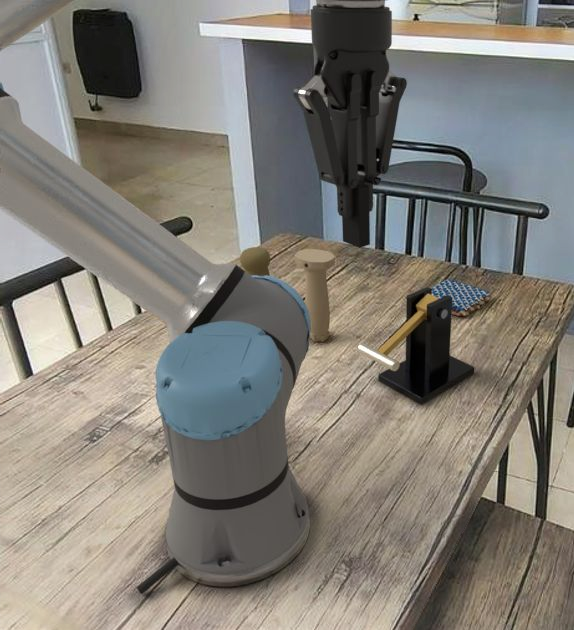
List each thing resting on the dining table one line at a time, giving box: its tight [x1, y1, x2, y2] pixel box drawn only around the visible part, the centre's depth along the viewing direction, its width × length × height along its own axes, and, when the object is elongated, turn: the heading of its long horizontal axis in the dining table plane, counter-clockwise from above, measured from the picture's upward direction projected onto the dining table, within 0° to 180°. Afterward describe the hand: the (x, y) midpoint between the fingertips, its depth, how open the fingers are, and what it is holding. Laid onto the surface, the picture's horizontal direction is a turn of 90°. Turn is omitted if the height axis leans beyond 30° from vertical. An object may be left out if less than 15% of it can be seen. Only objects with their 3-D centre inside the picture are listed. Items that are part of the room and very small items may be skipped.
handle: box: [294, 248, 336, 343], centre depth 111 cm, size 5×6×15 cm
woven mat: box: [431, 278, 491, 317], centre depth 127 cm, size 10×11×2 cm
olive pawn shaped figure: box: [239, 246, 271, 276], centre depth 122 cm, size 6×6×11 cm
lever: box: [357, 294, 439, 371], centre depth 97 cm, size 13×7×2 cm, turn 137°
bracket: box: [377, 286, 475, 406], centre depth 101 cm, size 12×9×14 cm
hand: (356, 242), depth 74 cm, fingers closed
